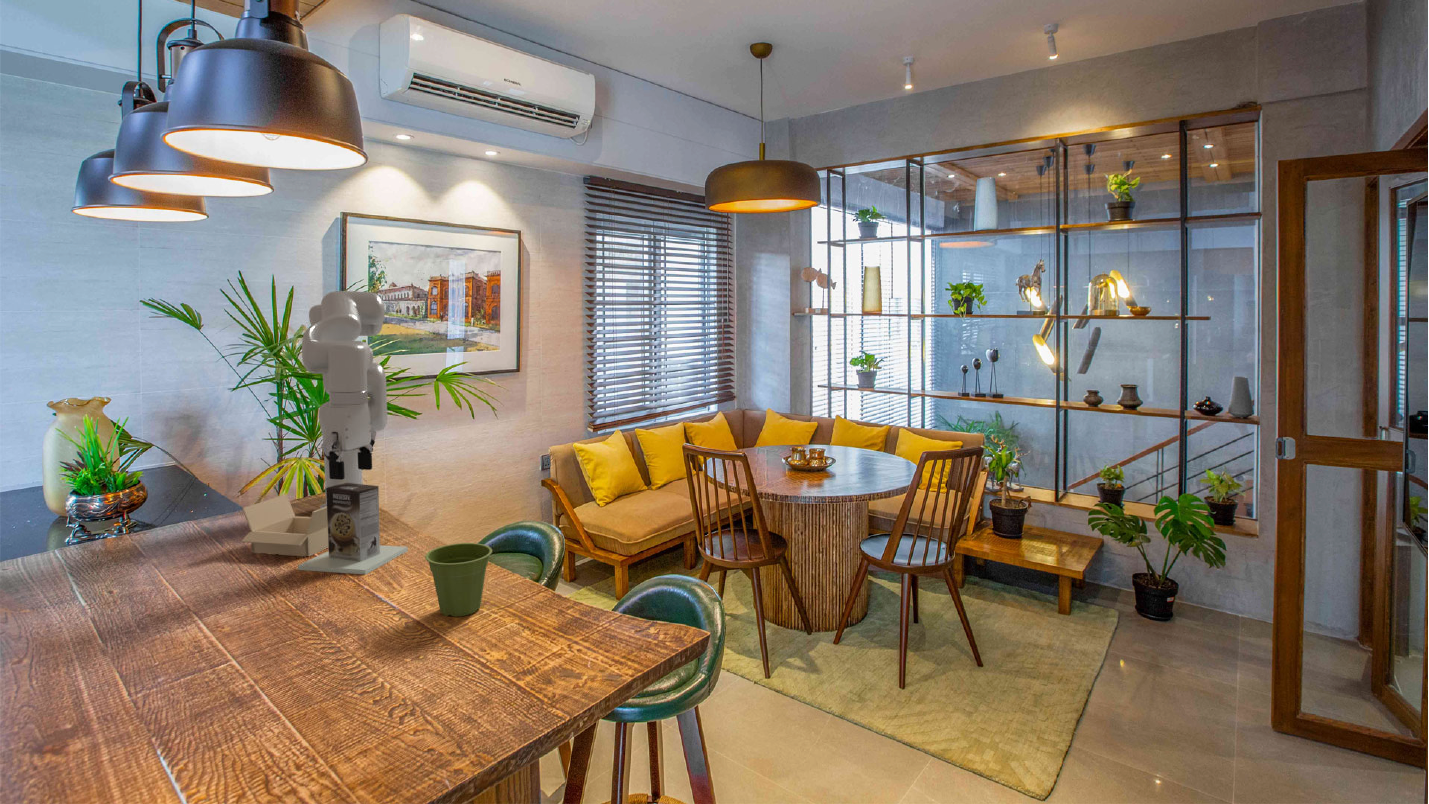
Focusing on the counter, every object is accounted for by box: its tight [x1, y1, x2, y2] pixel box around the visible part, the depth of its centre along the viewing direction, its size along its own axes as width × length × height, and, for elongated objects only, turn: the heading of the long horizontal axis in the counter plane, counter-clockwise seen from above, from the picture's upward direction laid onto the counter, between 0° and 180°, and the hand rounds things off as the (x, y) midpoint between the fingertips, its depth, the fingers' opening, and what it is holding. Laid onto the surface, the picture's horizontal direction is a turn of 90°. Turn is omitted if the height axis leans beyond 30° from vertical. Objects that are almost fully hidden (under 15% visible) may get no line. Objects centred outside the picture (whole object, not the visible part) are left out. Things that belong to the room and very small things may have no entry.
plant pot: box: [424, 542, 493, 618], centre depth 131 cm, size 12×12×11 cm
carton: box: [241, 493, 329, 557], centre depth 167 cm, size 19×18×11 cm
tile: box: [297, 544, 409, 576], centre depth 158 cm, size 16×16×1 cm
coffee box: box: [325, 483, 381, 561], centre depth 158 cm, size 9×6×16 cm
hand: (351, 474), depth 157 cm, fingers open, 9 cm apart
